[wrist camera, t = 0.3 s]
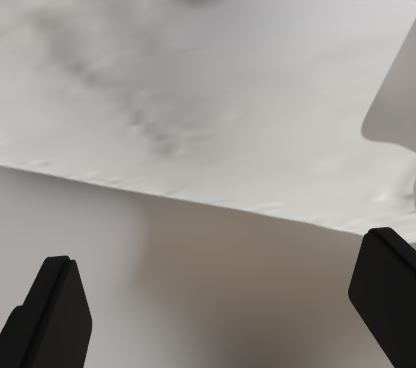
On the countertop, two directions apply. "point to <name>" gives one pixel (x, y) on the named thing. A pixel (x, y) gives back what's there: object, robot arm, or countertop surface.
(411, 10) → the countertop surface
